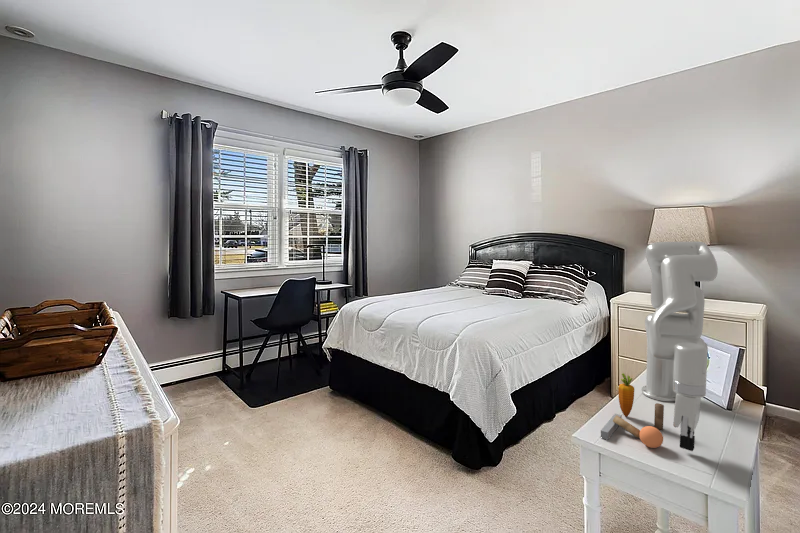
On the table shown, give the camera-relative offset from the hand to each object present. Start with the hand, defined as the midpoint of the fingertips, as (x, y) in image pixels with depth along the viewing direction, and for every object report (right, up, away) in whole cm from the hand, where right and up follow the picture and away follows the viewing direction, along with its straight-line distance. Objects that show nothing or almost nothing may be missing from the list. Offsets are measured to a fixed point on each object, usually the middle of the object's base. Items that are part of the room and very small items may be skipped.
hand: (686, 448), depth 115 cm
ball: (-8, +2, +4) cm, 9 cm away
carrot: (-5, +1, +22) cm, 23 cm away
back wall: (-14, -1, +14) cm, 20 cm away
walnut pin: (+1, 0, +14) cm, 14 cm away
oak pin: (-8, 0, +8) cm, 12 cm away
